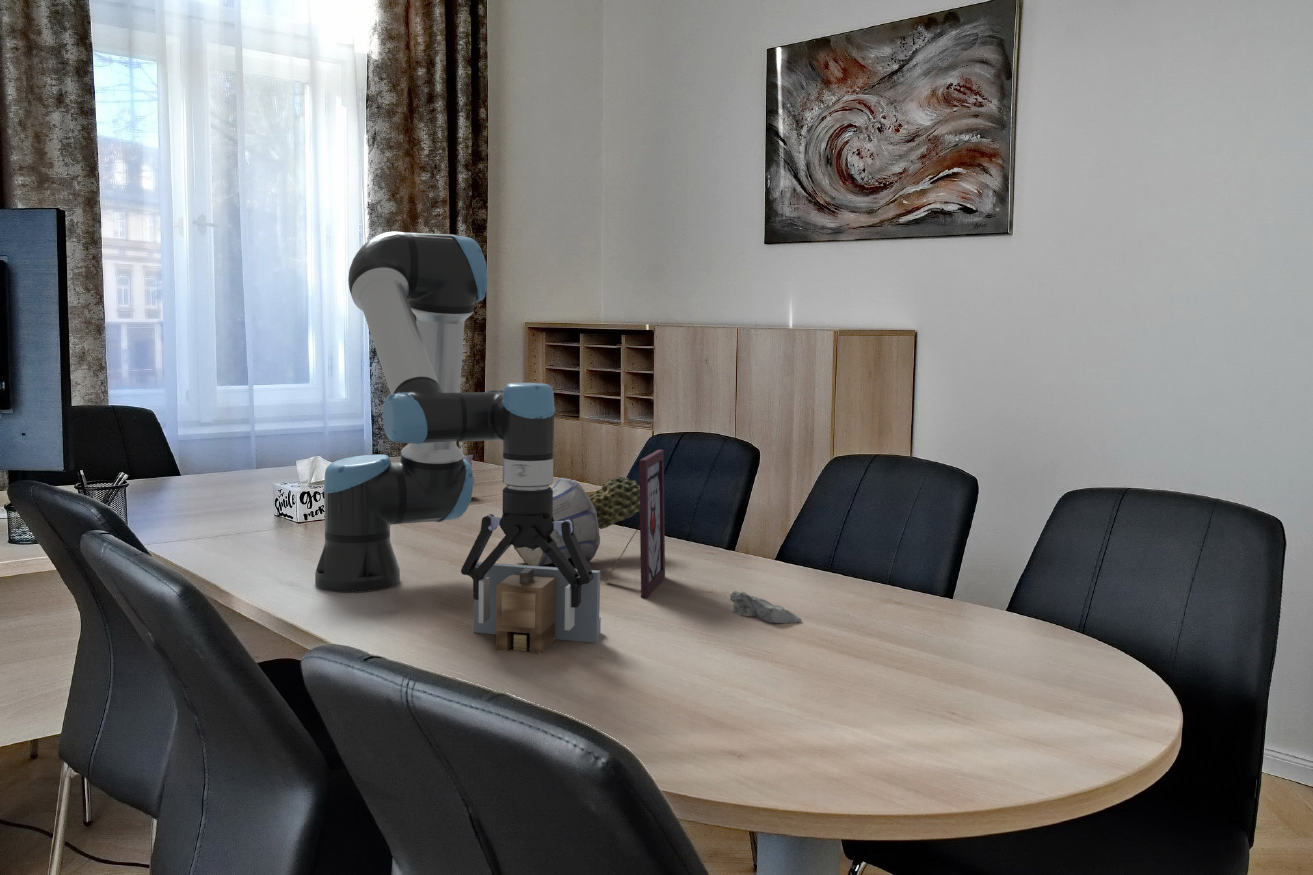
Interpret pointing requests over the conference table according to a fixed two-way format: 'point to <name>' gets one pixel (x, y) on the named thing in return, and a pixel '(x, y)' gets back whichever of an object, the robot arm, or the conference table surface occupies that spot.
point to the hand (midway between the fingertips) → (526, 624)
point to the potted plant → (587, 514)
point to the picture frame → (651, 522)
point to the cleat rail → (521, 641)
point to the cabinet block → (525, 610)
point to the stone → (761, 609)
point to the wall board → (585, 614)
